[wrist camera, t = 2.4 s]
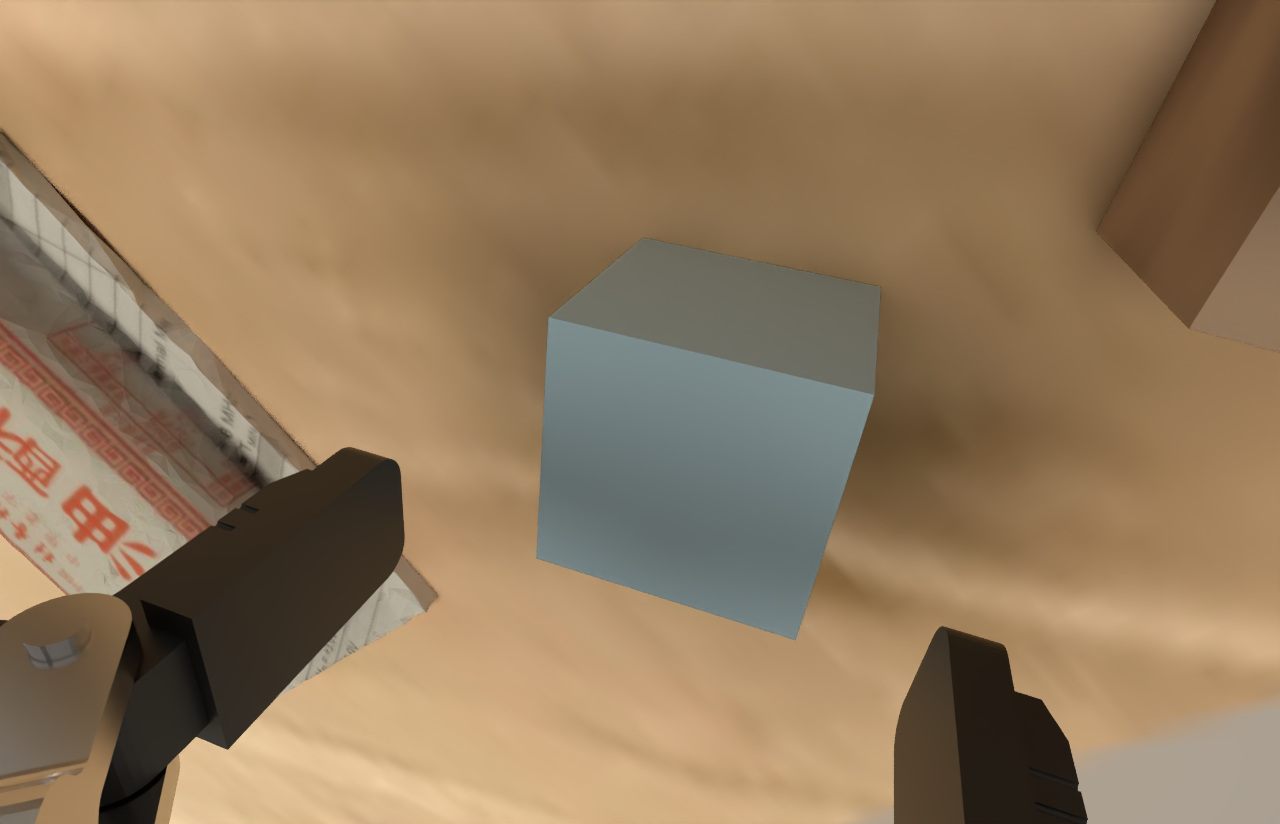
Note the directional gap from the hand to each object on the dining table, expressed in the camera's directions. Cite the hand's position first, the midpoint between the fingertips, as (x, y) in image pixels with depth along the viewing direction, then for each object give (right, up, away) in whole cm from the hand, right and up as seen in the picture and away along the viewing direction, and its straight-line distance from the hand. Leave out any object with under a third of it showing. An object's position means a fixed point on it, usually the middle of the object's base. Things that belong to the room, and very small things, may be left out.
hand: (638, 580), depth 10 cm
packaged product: (-15, +1, +14) cm, 21 cm away
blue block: (+2, +3, +6) cm, 7 cm away
